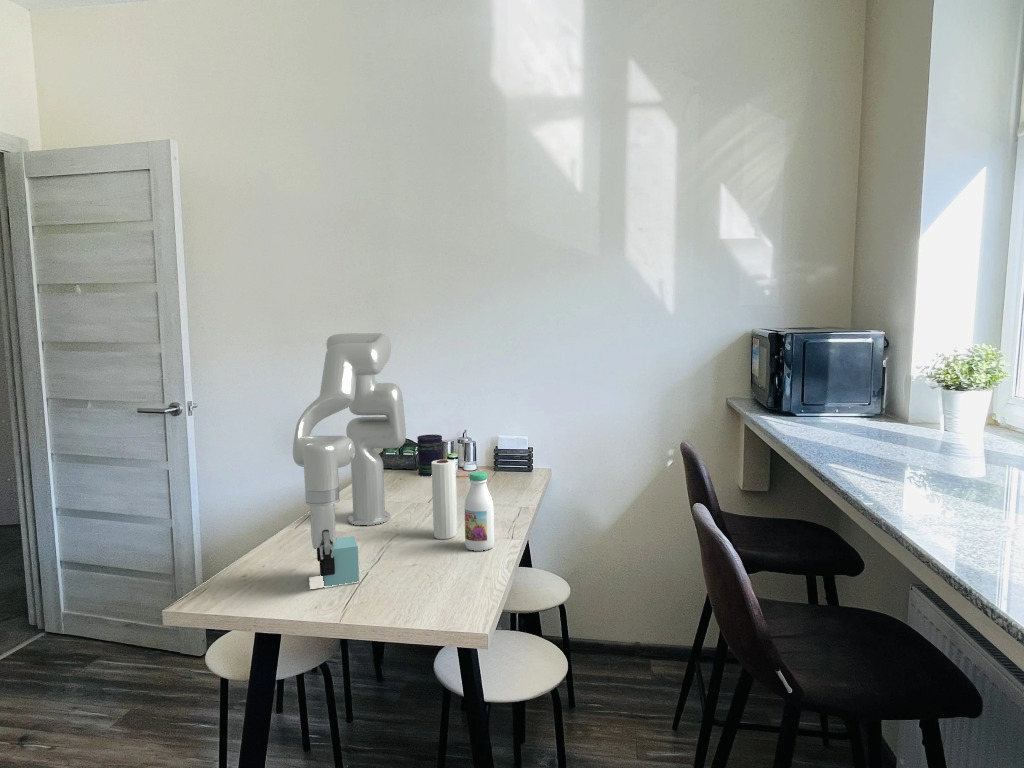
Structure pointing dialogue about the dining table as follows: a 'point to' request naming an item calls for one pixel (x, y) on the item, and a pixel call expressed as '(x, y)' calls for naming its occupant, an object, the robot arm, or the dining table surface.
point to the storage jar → (428, 452)
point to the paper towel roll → (444, 498)
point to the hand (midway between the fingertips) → (325, 567)
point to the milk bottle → (479, 514)
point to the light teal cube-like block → (344, 562)
